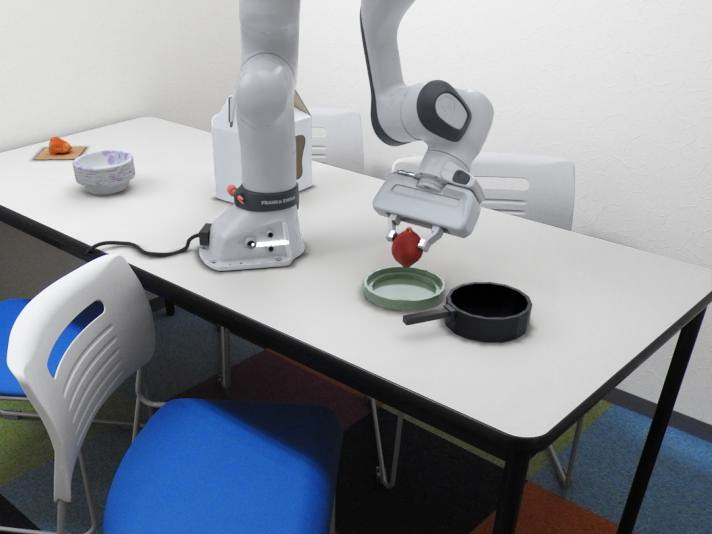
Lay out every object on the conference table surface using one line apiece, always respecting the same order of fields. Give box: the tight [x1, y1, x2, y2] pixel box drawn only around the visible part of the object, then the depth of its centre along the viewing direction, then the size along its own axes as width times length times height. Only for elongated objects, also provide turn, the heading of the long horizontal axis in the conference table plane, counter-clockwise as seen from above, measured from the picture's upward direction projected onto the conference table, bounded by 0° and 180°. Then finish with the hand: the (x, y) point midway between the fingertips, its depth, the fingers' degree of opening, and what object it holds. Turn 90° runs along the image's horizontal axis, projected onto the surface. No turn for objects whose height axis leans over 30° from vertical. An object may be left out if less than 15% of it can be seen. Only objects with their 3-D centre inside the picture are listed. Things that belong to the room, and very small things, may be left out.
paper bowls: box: [72, 149, 136, 196], centre depth 198 cm, size 15×15×8 cm
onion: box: [391, 226, 424, 268], centre depth 142 cm, size 6×6×8 cm
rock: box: [34, 136, 86, 161], centre depth 226 cm, size 12×12×4 cm
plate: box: [362, 265, 447, 311], centre depth 147 cm, size 15×15×2 cm
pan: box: [402, 281, 533, 344], centre depth 135 cm, size 23×14×4 cm, turn 109°
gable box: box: [210, 89, 313, 204], centre depth 188 cm, size 22×13×28 cm, turn 139°
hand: (405, 245), depth 141 cm, fingers closed on onion, 5 cm apart
